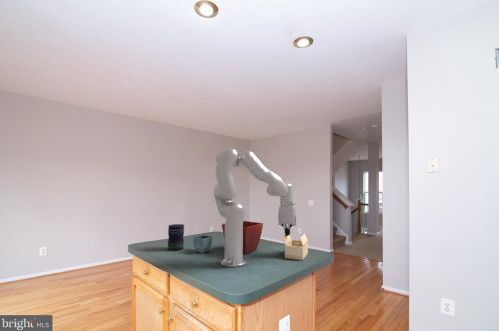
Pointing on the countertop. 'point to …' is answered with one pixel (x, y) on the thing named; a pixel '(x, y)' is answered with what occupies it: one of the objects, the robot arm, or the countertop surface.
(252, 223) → the plant pot
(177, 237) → the storage jar
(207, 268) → the countertop surface
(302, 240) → the flap right
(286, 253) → the carton
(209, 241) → the flower pot
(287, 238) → the flap left
